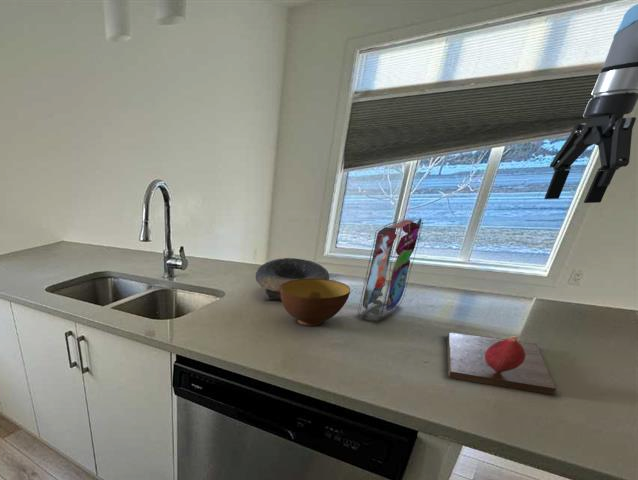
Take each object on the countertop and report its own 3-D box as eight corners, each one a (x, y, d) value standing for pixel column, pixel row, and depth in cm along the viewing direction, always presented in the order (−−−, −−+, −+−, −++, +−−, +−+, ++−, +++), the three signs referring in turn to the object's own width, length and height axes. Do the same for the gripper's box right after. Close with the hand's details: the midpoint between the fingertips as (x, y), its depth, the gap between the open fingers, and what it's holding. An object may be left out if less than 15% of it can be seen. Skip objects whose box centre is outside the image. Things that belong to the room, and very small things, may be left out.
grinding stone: (239, 300, 139) (242, 272, 133) (277, 275, 151) (281, 249, 145) (303, 320, 125) (309, 290, 119) (339, 291, 138) (346, 263, 131)
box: (390, 295, 128) (411, 213, 116) (412, 299, 124) (436, 214, 112) (355, 318, 115) (375, 228, 102) (379, 323, 110) (402, 230, 98)
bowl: (319, 307, 124) (325, 275, 119) (357, 328, 109) (365, 292, 104) (266, 315, 122) (269, 283, 117) (297, 337, 107) (302, 301, 102)
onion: (479, 375, 81) (494, 339, 77) (478, 363, 85) (492, 328, 81) (518, 381, 78) (535, 344, 74) (515, 368, 82) (531, 333, 78)
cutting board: (552, 395, 76) (556, 388, 75) (448, 377, 84) (450, 371, 84) (533, 349, 92) (536, 343, 91) (446, 338, 100) (448, 332, 99)
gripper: (693, 82, 76) (633, 203, 86) (592, 101, 98) (553, 196, 107) (643, 86, 78) (590, 205, 88) (554, 104, 99) (520, 198, 109)
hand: (570, 200), depth 98 cm, fingers open, 13 cm apart
